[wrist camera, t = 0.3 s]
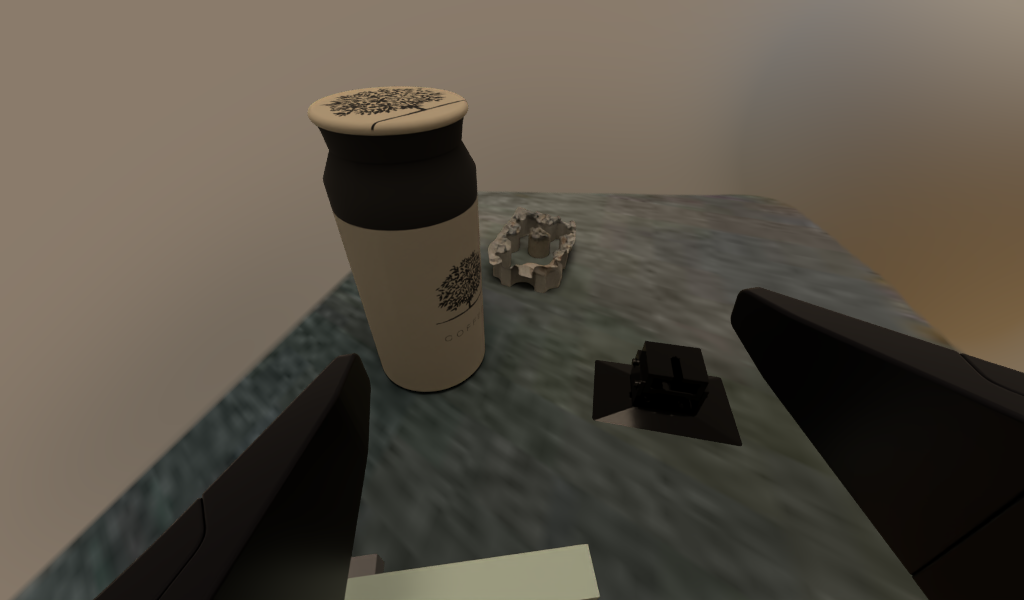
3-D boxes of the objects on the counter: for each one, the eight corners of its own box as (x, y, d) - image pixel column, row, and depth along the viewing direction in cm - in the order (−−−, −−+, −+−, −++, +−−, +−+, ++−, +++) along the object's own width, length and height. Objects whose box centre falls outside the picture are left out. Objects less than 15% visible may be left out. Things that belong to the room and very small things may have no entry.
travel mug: (363, 350, 30) (275, 99, 18) (446, 306, 34) (416, 78, 23) (419, 415, 26) (347, 138, 14) (505, 355, 30) (506, 104, 18)
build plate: (567, 430, 25) (575, 389, 22) (574, 351, 31) (581, 309, 28) (765, 465, 24) (802, 425, 21) (735, 375, 29) (761, 333, 26)
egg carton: (555, 301, 35) (559, 265, 33) (481, 283, 37) (480, 248, 35) (579, 244, 43) (584, 211, 40) (517, 232, 45) (517, 200, 42)
